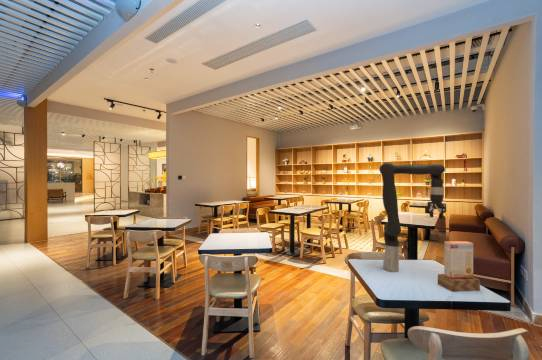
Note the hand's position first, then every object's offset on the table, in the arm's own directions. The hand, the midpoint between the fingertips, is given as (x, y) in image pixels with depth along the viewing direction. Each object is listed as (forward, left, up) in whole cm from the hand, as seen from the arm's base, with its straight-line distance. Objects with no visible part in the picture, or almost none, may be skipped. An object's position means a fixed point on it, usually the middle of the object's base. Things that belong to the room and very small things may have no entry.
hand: (436, 218), depth 183 cm
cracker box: (-2, -21, -32) cm, 39 cm away
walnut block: (-2, -21, -38) cm, 44 cm away
